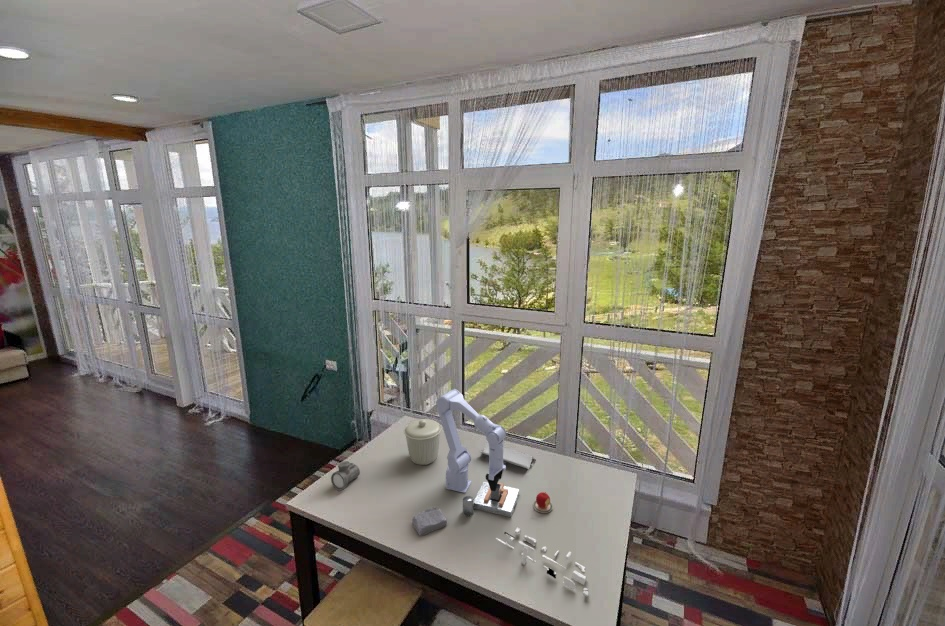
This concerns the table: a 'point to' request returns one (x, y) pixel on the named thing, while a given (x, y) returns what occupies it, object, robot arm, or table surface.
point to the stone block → (429, 521)
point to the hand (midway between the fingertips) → (495, 484)
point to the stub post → (468, 506)
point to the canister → (423, 440)
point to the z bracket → (512, 456)
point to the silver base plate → (494, 505)
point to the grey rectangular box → (496, 494)
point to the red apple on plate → (543, 503)
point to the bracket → (501, 502)
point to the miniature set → (567, 582)
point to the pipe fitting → (344, 474)
